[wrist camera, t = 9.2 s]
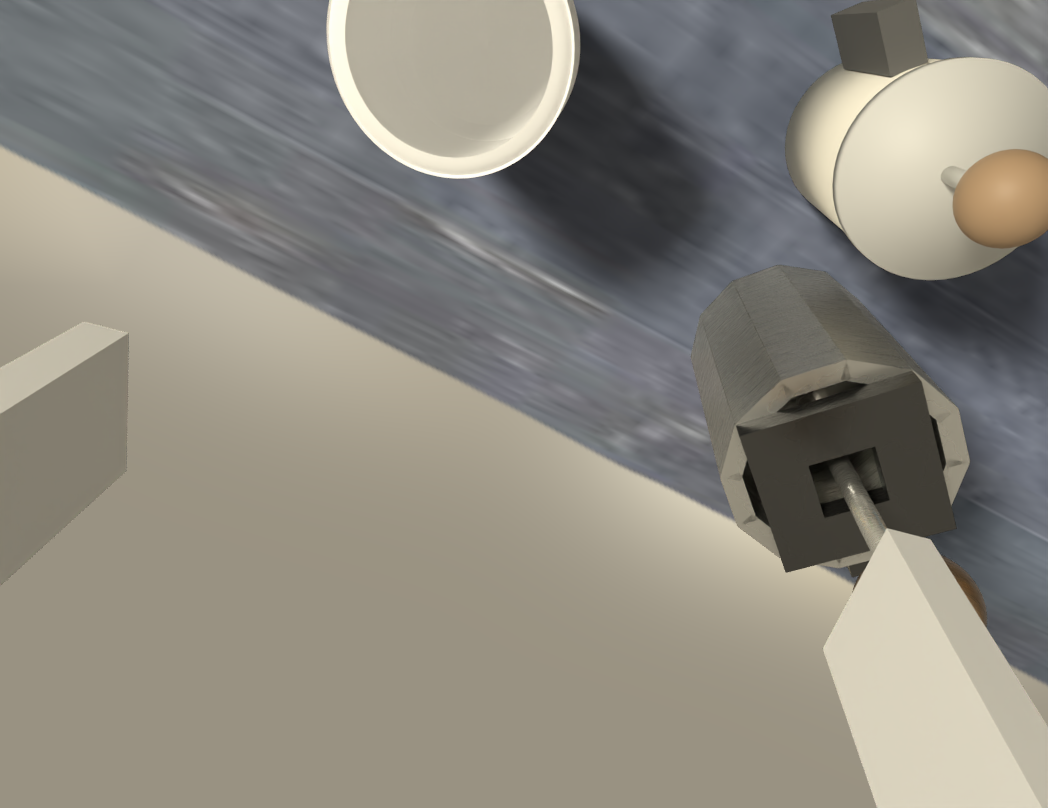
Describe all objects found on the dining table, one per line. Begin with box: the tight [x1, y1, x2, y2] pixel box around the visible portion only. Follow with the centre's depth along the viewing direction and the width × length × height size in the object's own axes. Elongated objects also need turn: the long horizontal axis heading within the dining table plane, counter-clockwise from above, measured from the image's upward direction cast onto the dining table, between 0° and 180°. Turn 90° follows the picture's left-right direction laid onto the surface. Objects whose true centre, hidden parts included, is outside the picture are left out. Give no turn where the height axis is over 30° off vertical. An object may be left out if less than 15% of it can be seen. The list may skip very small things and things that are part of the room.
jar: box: [327, 0, 580, 178], centre depth 40 cm, size 11×10×15 cm
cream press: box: [785, 0, 1048, 280], centre depth 37 cm, size 9×12×20 cm
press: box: [691, 265, 970, 577], centre depth 45 cm, size 11×14×17 cm
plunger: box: [777, 381, 987, 627], centre depth 36 cm, size 8×8×21 cm
